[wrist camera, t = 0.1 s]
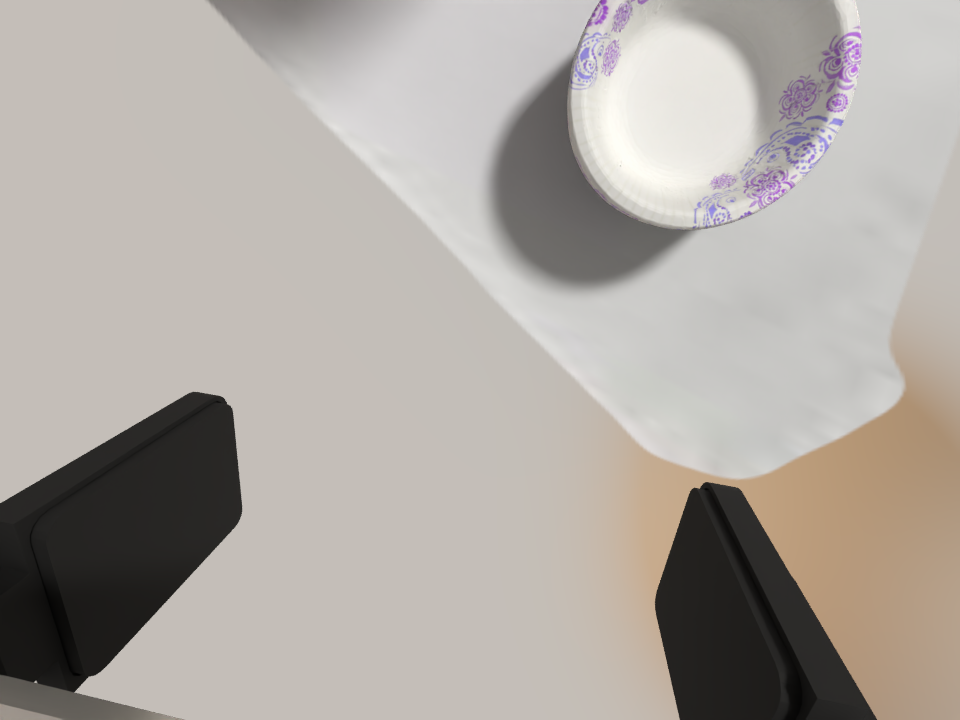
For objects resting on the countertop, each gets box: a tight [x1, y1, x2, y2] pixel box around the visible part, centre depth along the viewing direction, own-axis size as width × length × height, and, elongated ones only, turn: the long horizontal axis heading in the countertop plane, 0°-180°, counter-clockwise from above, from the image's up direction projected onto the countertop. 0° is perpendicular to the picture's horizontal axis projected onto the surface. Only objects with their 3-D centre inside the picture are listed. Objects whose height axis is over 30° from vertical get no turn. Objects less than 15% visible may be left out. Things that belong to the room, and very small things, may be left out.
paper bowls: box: [567, 0, 861, 230], centre depth 30 cm, size 15×15×8 cm
